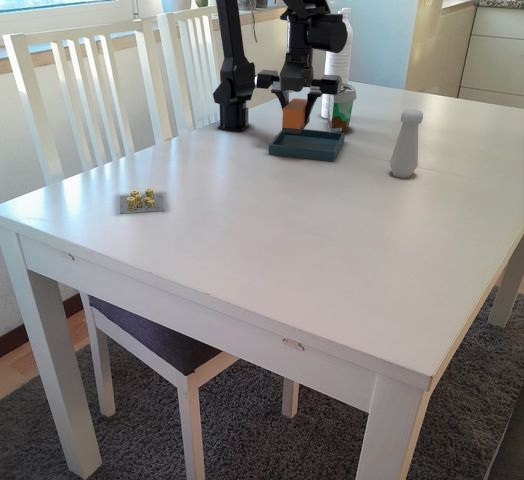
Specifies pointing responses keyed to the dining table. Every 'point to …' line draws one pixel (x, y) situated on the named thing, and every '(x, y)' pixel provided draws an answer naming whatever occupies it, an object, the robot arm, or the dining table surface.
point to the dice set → (141, 202)
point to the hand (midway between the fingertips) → (296, 122)
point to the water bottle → (339, 62)
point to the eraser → (294, 116)
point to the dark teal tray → (308, 144)
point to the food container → (341, 109)
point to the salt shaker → (406, 144)
